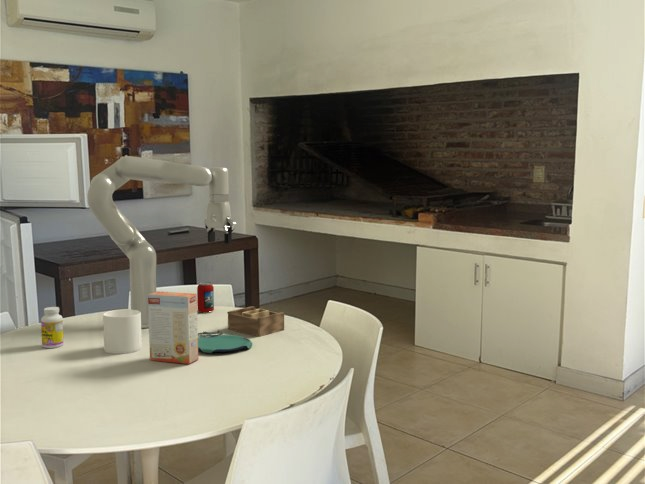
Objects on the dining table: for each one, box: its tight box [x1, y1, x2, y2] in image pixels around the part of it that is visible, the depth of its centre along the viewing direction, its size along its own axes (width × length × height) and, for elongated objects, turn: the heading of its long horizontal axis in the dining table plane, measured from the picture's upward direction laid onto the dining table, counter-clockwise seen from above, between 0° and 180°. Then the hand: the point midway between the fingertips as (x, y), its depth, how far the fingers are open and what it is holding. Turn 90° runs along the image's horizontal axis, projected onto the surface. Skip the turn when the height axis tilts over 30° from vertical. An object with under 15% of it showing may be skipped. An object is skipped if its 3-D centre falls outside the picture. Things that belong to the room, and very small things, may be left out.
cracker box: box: [148, 291, 199, 365], centre depth 191 cm, size 14×6×21 cm, turn 71°
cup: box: [102, 308, 143, 355], centre depth 203 cm, size 12×12×12 cm
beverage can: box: [196, 281, 215, 313], centre depth 259 cm, size 7×7×12 cm
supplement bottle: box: [40, 306, 64, 349], centre depth 207 cm, size 7×7×13 cm
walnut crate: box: [227, 305, 286, 337], centre depth 229 cm, size 13×17×7 cm
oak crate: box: [242, 308, 270, 319], centre depth 229 cm, size 9×5×6 cm, turn 141°
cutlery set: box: [198, 331, 253, 354], centre depth 211 cm, size 20×30×2 cm, turn 29°
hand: (219, 242), depth 245 cm, fingers open, 9 cm apart
